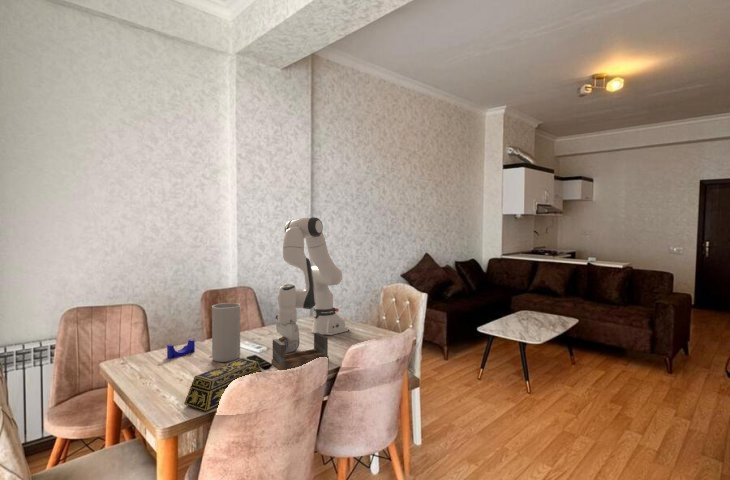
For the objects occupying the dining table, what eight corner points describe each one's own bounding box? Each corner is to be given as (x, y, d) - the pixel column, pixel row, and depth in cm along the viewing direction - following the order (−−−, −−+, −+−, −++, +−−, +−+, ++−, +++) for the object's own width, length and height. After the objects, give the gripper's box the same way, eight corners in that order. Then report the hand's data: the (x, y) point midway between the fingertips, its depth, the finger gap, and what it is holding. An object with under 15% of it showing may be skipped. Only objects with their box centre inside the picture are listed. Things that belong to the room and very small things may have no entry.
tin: (296, 348, 199) (296, 332, 198) (300, 349, 197) (300, 333, 197) (273, 356, 186) (273, 339, 186) (278, 357, 185) (278, 340, 184)
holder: (318, 354, 190) (318, 332, 190) (328, 360, 182) (328, 337, 182) (271, 363, 177) (271, 339, 176) (279, 370, 168) (280, 345, 168)
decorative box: (184, 404, 137) (183, 379, 136) (246, 375, 163) (246, 354, 163) (205, 411, 132) (205, 385, 131) (266, 381, 158) (266, 359, 158)
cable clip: (189, 350, 195) (189, 338, 195) (194, 352, 192) (194, 340, 192) (165, 356, 185) (165, 344, 185) (170, 358, 183) (170, 346, 182)
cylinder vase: (231, 363, 177) (231, 308, 176) (206, 361, 179) (206, 307, 178) (245, 354, 189) (245, 303, 188) (221, 352, 191) (221, 302, 190)
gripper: (302, 321, 184) (302, 350, 185) (285, 313, 201) (285, 339, 202) (290, 323, 181) (290, 352, 181) (273, 314, 198) (273, 341, 198)
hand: (287, 345), depth 192 cm, fingers closed on tin, 3 cm apart
